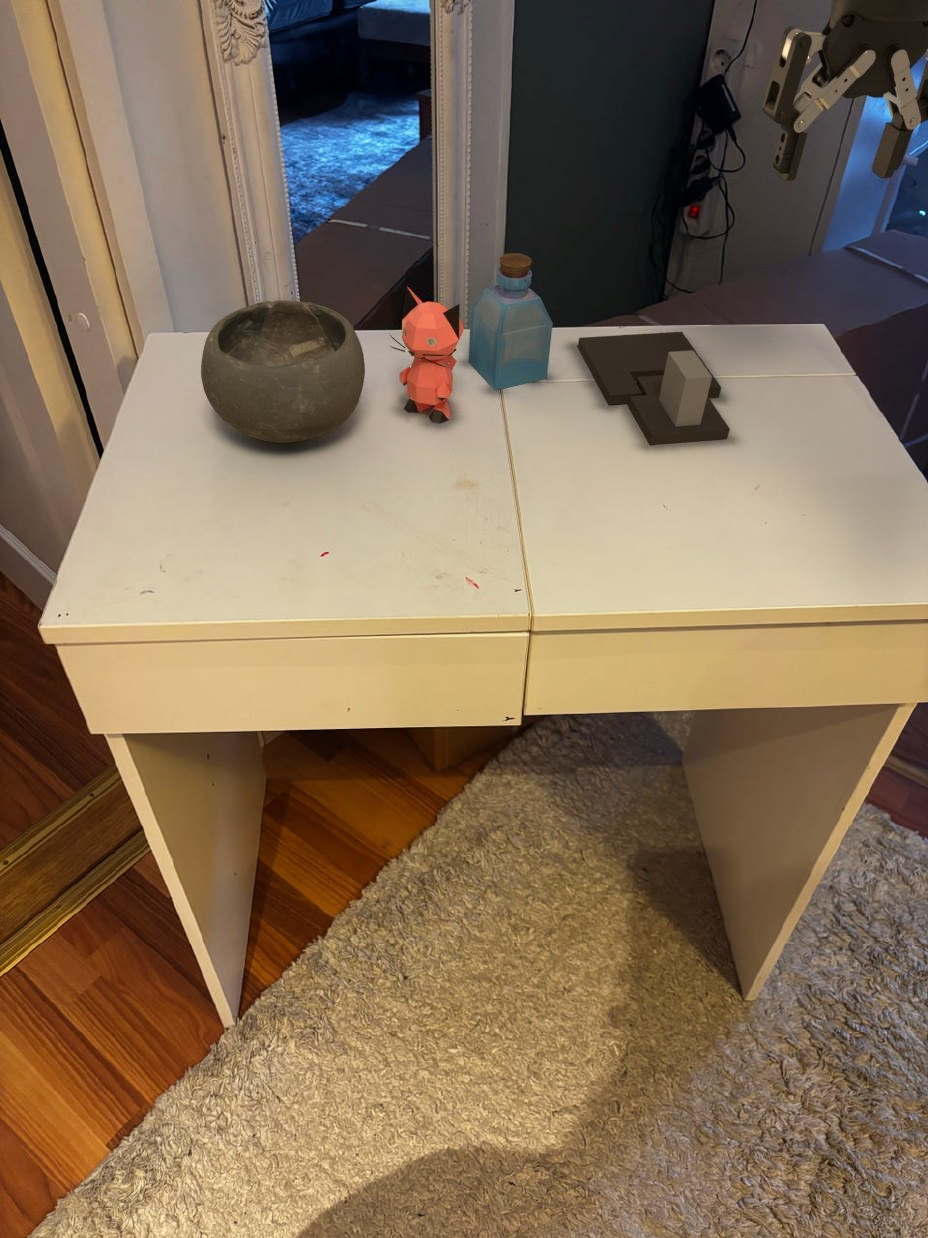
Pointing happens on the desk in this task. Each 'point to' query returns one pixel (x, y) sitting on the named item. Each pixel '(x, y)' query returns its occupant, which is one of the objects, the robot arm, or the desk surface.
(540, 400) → the desk surface
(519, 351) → the perfume bottle
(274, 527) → the desk surface
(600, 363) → the notch pad
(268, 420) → the bowl
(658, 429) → the tab pad
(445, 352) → the cat figurine
